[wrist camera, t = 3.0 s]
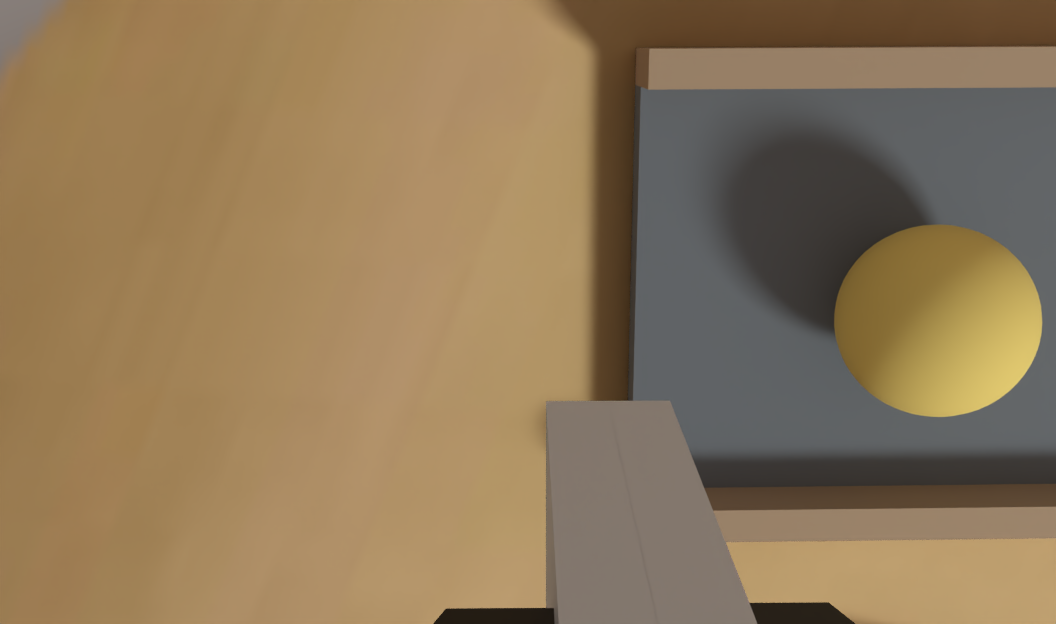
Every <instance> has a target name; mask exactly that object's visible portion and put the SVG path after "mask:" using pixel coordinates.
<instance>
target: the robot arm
mask: <svg viewBox="0 0 1056 624" xmlns="http://www.w3.org/2000/svg"><path fill="white" fill-rule="evenodd" d="M434 624H855V623H854V622H852V621H851V620H850V619H849V618H847V617H846V616H845V615H844V614H842V613H841V612H840V611H839V610H837V609H836V608H835V607H834V606H832V605H831V604H830V603H749V601H748V598H747V596H746V593H745V591H744V588H743V586H742V583H741V581H740V578H739V575H738V573H737V570H736V568H735V565H734V563H733V560H732V558H731V555H730V553H729V550H728V547H727V545H726V542H725V540H724V537H723V535H722V532H721V530H720V527H719V524H718V522H717V519H716V517H715V514H714V512H713V509H712V507H711V504H710V502H709V499H708V496H707V494H706V491H705V489H704V486H703V484H702V481H701V479H700V476H699V474H698V471H697V468H696V466H695V463H694V461H693V458H692V456H691V453H690V451H689V448H688V445H687V443H686V440H685V438H684V435H683V433H682V430H681V428H680V425H679V423H678V420H677V417H676V415H675V412H674V410H673V407H672V405H671V402H670V401H546V608H477V609H445V611H444V612H443V613H442V614H441V615H440V616H439V618H438V619H437V620H436V621H435V622H434Z"/></svg>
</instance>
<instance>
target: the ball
mask: <svg viewBox="0 0 1056 624" xmlns="http://www.w3.org/2000/svg"><path fill="white" fill-rule="evenodd" d="M834 328H835V336H836V341H837V344H838V348H839V351H840V353H841V356H842V358H843V360H844V363H845V364H846V366H847V367H848V369H849V371H850V372H851V374H852V375H853V376H854V377H855V379H856V380H857V381H858V382H859V383H860V385H861V386H862V387H864V388H865V389H866V390H867V391H868V392H869V393H870V394H872V395H873V396H874V397H876V398H877V399H879V400H880V401H882V402H883V403H885V404H887V405H890V406H892V407H894V408H896V409H899V410H901V411H904V412H907V413H911V414H915V415H921V416H929V417H948V416H956V415H961V414H966V413H970V412H973V411H976V410H979V409H981V408H983V407H986V406H988V405H990V404H992V403H993V402H995V401H997V400H998V399H1000V398H1001V397H1002V396H1004V395H1005V394H1006V393H1008V392H1009V391H1010V390H1011V389H1012V388H1013V387H1014V386H1015V385H1016V384H1017V383H1018V382H1019V381H1020V380H1021V378H1022V377H1023V376H1024V375H1025V373H1026V372H1027V370H1028V369H1029V367H1030V365H1031V364H1032V361H1033V359H1034V357H1035V355H1036V353H1037V350H1038V347H1039V343H1040V339H1041V334H1042V311H1041V304H1040V299H1039V295H1038V292H1037V290H1036V287H1035V285H1034V283H1033V281H1032V279H1031V277H1030V275H1029V273H1028V271H1027V270H1026V269H1025V267H1024V266H1023V265H1022V263H1021V262H1020V261H1019V260H1018V259H1017V258H1016V257H1015V256H1014V255H1013V254H1012V253H1011V252H1010V251H1009V250H1008V249H1007V248H1005V247H1004V246H1003V245H1001V244H1000V243H998V242H997V241H995V240H994V239H992V238H990V237H988V236H986V235H984V234H982V233H980V232H977V231H974V230H971V229H967V228H963V227H958V226H953V225H940V224H939V225H922V226H917V227H912V228H908V229H905V230H902V231H899V232H896V233H894V234H892V235H890V236H888V237H886V238H884V239H882V240H881V241H879V242H877V243H876V244H874V245H873V246H872V247H870V248H869V249H868V250H867V251H866V252H864V253H863V254H862V255H861V257H860V258H859V259H858V260H857V261H856V262H855V263H854V265H853V266H852V267H851V269H850V270H849V272H848V273H847V275H846V277H845V278H844V280H843V283H842V285H841V287H840V290H839V293H838V296H837V300H836V306H835V313H834Z"/></svg>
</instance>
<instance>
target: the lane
mask: <svg viewBox="0 0 1056 624" xmlns="http://www.w3.org/2000/svg"><path fill="white" fill-rule="evenodd" d="M939 224H940V225H953V226H958V227H963V228H967V229H971V230H974V231H977V232H980V233H982V234H984V235H986V236H988V237H990V238H992V239H994V240H995V241H997V242H998V243H1000V244H1001V245H1003V246H1004V247H1005V248H1007V249H1008V250H1009V251H1010V252H1011V253H1012V254H1013V255H1014V256H1015V257H1016V258H1017V259H1018V260H1019V261H1020V262H1021V263H1022V265H1023V266H1024V267H1025V269H1026V270H1027V271H1028V273H1029V275H1030V277H1031V279H1032V281H1033V283H1034V285H1035V287H1036V290H1037V292H1038V295H1039V299H1040V304H1041V311H1042V334H1041V339H1040V343H1039V347H1038V350H1037V353H1036V355H1035V357H1034V359H1033V361H1032V364H1031V365H1030V367H1029V369H1028V370H1027V372H1026V373H1025V375H1024V376H1023V377H1022V378H1021V380H1020V381H1019V382H1018V383H1017V384H1016V385H1015V386H1014V387H1013V388H1012V389H1011V390H1010V391H1009V392H1008V393H1006V394H1005V395H1004V396H1002V397H1001V398H1000V399H998V400H997V401H995V402H993V403H992V404H990V405H988V406H986V407H983V408H981V409H979V410H976V411H973V412H970V413H966V414H961V415H956V416H948V417H929V416H921V415H915V414H911V413H907V412H904V411H901V410H899V409H896V408H894V407H892V406H890V405H887V404H885V403H883V402H882V401H880V400H879V399H877V398H876V397H874V396H873V395H872V394H870V393H869V392H868V391H867V390H866V389H865V388H864V387H862V386H861V385H860V383H859V382H858V381H857V380H856V379H855V377H854V376H853V375H852V374H851V372H850V371H849V369H848V367H847V366H846V364H845V363H844V360H843V358H842V356H841V353H840V351H839V348H838V344H837V341H836V336H835V328H834V313H835V306H836V300H837V296H838V293H839V290H840V287H841V285H842V283H843V280H844V278H845V277H846V275H847V273H848V272H849V270H850V269H851V267H852V266H853V265H854V263H855V262H856V261H857V260H858V259H859V258H860V257H861V255H862V254H863V253H864V252H866V251H867V250H868V249H869V248H870V247H872V246H873V245H874V244H876V243H877V242H879V241H881V240H882V239H884V238H886V237H888V236H890V235H892V234H894V233H896V232H899V231H902V230H905V229H908V228H912V227H917V226H922V225H939ZM628 401H670V402H671V405H672V407H673V410H674V412H675V415H676V417H677V420H678V423H679V425H680V428H681V430H682V433H683V435H684V438H685V440H686V443H687V445H688V448H689V451H690V453H691V456H692V458H693V461H694V463H695V466H696V468H697V471H698V474H699V476H700V479H701V481H702V484H703V486H704V489H705V491H706V494H707V496H708V499H709V502H710V504H711V507H712V509H713V512H714V514H715V517H716V519H717V522H718V524H719V527H720V530H721V532H722V535H723V537H724V540H725V542H779V541H862V540H945V539H1028V538H1056V46H905V47H701V48H636V74H635V117H634V159H633V201H632V244H631V286H630V329H629V371H628Z"/></svg>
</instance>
